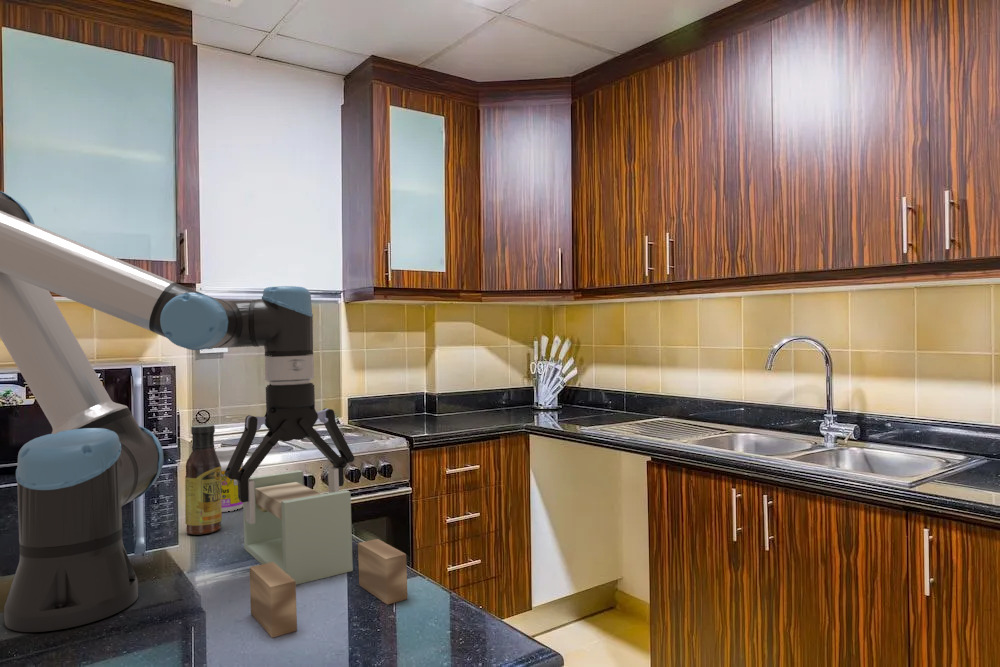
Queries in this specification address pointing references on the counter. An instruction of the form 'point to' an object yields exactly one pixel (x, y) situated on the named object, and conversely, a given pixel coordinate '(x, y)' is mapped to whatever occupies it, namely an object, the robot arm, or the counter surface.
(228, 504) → the supplement bottle
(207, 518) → the sauce bottle
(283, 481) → the shelf frame
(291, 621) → the blocks
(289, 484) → the shelf board
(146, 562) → the counter surface
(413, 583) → the counter surface
